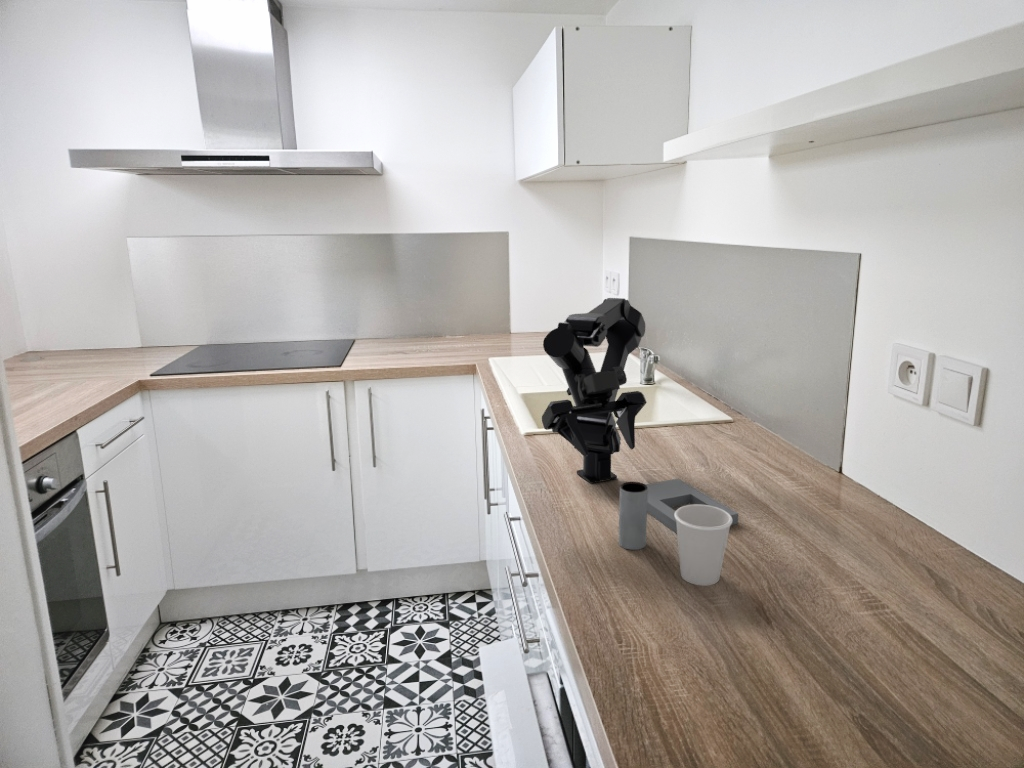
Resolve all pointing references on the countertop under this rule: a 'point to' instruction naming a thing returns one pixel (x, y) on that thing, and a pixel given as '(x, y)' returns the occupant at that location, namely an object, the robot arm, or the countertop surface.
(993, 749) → the countertop surface
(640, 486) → the gray tube
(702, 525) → the dixie cup
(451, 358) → the countertop surface
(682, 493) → the socket board
